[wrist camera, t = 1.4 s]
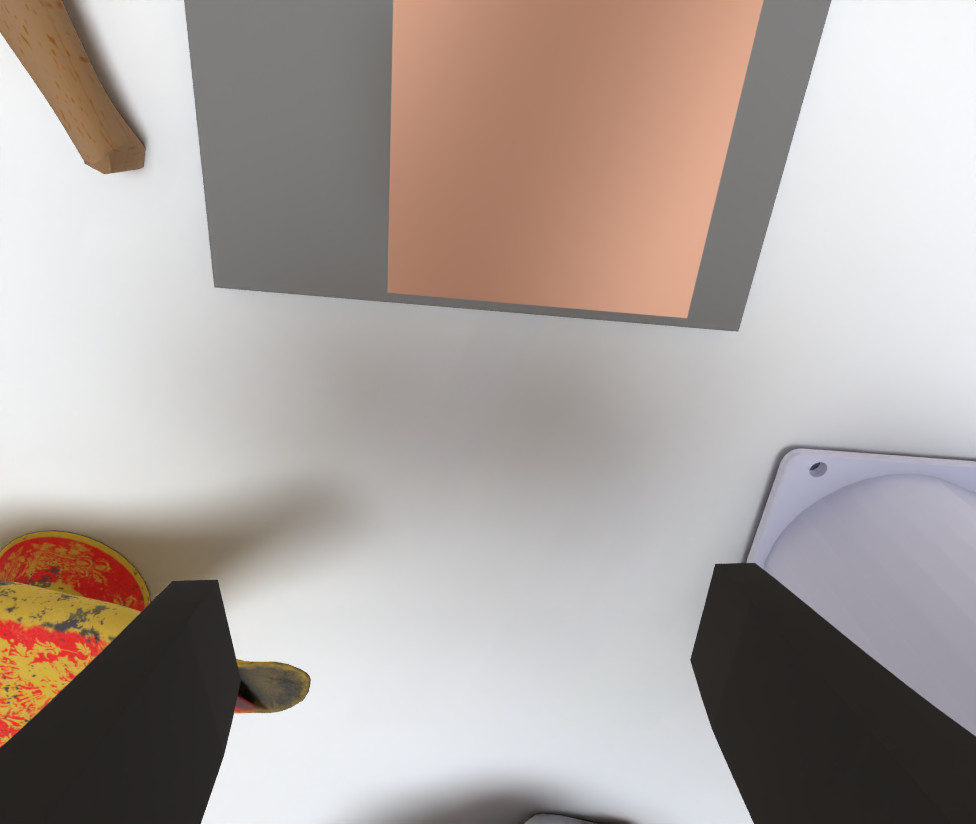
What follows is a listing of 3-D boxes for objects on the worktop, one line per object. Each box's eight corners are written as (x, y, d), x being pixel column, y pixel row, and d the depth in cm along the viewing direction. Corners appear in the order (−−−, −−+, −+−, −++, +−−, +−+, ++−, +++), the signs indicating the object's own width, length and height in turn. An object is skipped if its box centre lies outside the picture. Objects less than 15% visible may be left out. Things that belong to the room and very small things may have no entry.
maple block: (619, 36, 14) (774, -46, 7) (590, 221, 15) (687, 318, 8) (439, 17, 13) (395, -91, 6) (430, 207, 15) (387, 292, 8)
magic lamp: (401, 583, 21) (333, 1003, 11) (-38, 706, 23) (-416, 1143, 14) (312, 413, 18) (113, 775, 8) (-178, 573, 21) (-791, 1004, 11)
